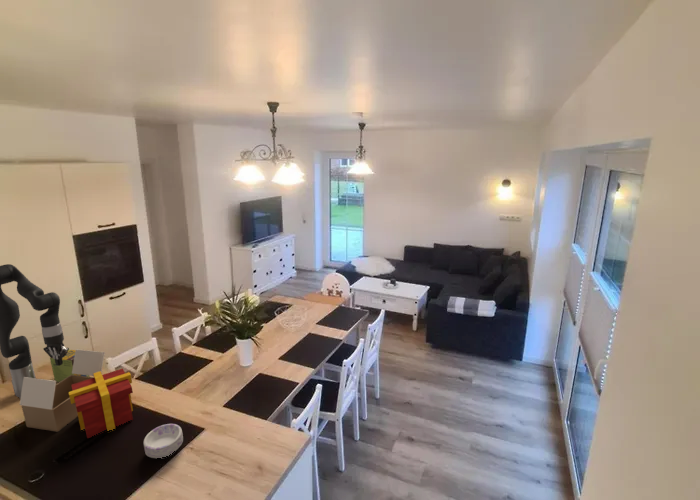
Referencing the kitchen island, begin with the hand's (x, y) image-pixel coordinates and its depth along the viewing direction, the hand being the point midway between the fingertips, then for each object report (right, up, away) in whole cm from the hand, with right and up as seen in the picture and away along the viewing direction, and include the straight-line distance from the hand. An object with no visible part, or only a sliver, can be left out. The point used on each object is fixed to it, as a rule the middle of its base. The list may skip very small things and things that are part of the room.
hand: (59, 364), depth 182 cm
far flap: (+3, -4, +16) cm, 17 cm away
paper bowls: (+63, -32, -20) cm, 74 cm away
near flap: (-2, -10, -10) cm, 14 cm away
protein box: (-19, -19, +34) cm, 44 cm away
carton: (0, -26, +5) cm, 26 cm away
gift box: (+24, -27, 0) cm, 36 cm away
